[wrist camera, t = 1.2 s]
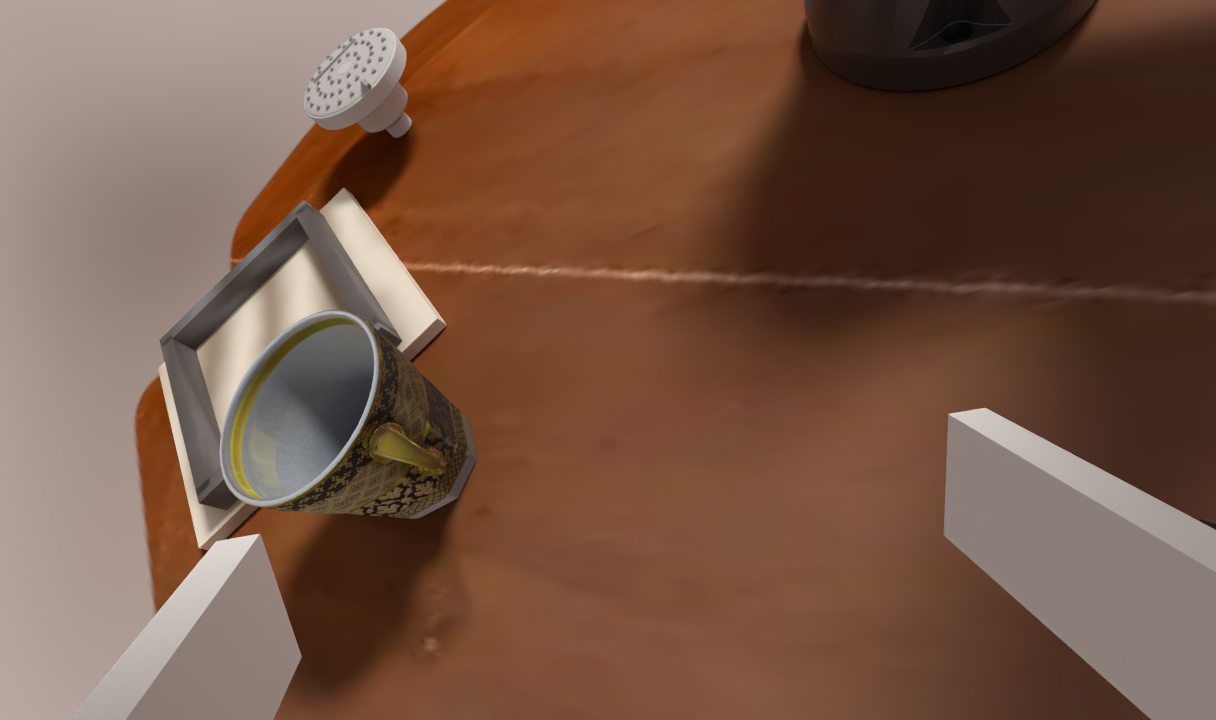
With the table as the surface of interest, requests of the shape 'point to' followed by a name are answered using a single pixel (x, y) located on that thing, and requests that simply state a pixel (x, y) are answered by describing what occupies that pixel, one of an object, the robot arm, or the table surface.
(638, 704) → the table surface
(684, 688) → the table surface
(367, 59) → the showerhead
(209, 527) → the square frame board
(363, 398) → the ceramic cup
